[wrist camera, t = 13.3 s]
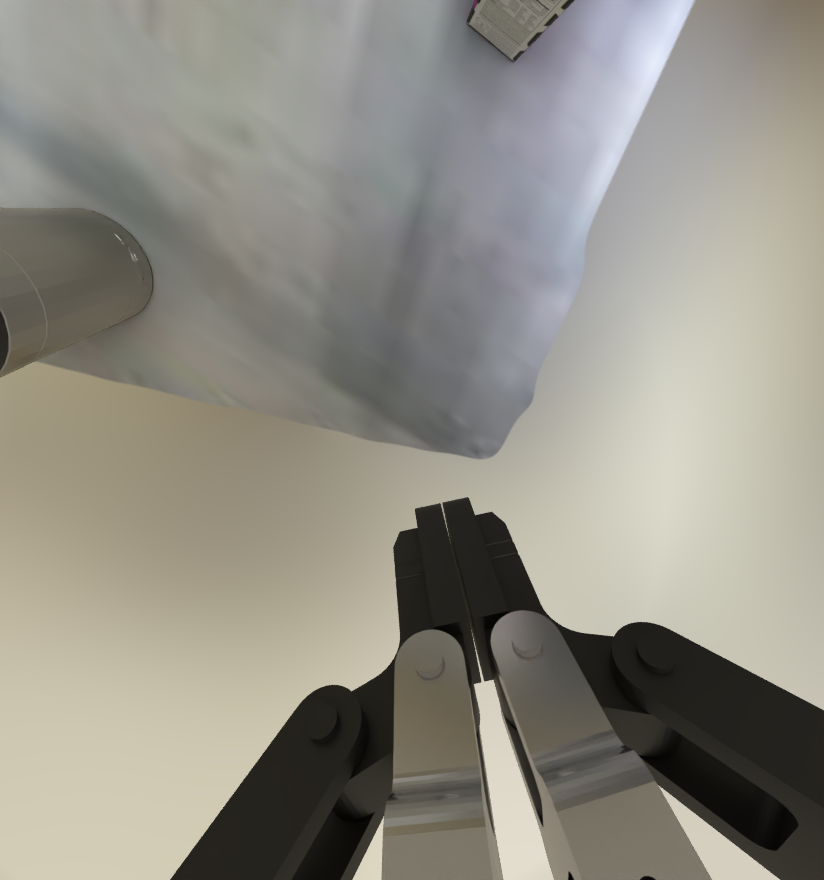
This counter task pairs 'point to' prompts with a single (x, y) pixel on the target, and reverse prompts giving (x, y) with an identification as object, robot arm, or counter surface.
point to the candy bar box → (514, 22)
